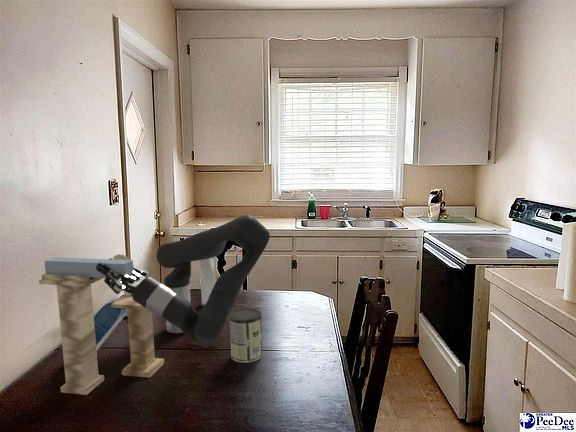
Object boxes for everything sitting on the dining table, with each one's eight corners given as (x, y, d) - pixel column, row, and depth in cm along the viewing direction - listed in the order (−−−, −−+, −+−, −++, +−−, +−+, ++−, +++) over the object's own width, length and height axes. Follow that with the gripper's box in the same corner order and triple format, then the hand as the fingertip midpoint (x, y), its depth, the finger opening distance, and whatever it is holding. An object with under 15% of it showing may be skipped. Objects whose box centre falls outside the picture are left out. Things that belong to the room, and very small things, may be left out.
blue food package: (64, 353, 132) (116, 288, 133) (80, 341, 144) (128, 282, 145) (80, 365, 132) (133, 300, 134) (95, 353, 144) (143, 293, 146)
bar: (133, 274, 117) (132, 260, 117) (125, 278, 114) (124, 264, 113) (56, 271, 122) (55, 257, 122) (45, 275, 118) (44, 260, 118)
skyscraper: (217, 306, 187) (214, 242, 183) (198, 306, 187) (195, 242, 183) (220, 300, 195) (218, 238, 191) (202, 300, 195) (199, 239, 191)
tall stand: (114, 380, 126) (105, 269, 122) (95, 396, 118) (84, 278, 113) (72, 376, 129) (62, 267, 125) (50, 392, 121) (38, 276, 116)
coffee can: (238, 346, 147) (237, 306, 145) (267, 350, 144) (266, 310, 142) (224, 360, 137) (223, 318, 135) (254, 365, 134) (253, 321, 132)
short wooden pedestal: (171, 363, 136) (167, 297, 133) (157, 378, 127) (153, 307, 124) (131, 360, 139) (126, 295, 136) (114, 374, 130) (109, 305, 127)
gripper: (174, 277, 121) (123, 245, 123) (147, 293, 107) (91, 257, 109) (162, 299, 122) (113, 267, 124) (135, 318, 109) (80, 282, 110)
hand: (103, 263), depth 116 cm, fingers closed on bar, 4 cm apart
